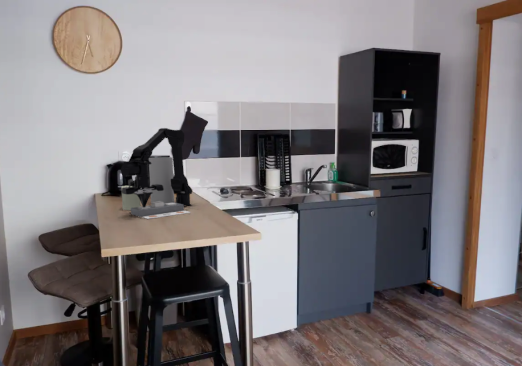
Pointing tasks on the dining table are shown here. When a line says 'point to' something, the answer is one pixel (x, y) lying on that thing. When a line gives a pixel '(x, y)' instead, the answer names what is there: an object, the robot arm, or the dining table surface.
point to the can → (129, 200)
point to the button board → (157, 210)
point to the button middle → (157, 204)
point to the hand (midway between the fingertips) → (144, 207)
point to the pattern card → (166, 214)
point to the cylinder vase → (161, 178)
